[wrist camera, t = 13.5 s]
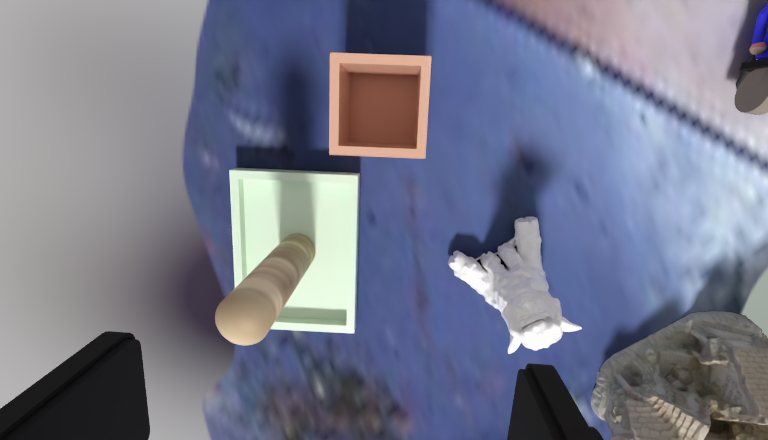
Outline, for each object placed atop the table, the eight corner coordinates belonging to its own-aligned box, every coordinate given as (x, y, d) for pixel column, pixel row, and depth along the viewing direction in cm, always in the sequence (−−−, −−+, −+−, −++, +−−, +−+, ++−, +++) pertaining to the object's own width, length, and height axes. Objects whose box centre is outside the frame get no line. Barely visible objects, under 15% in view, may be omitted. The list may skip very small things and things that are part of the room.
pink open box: (344, 66, 38) (330, 52, 31) (425, 69, 38) (431, 56, 30) (342, 148, 40) (329, 154, 32) (420, 151, 40) (425, 158, 32)
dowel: (279, 232, 41) (213, 292, 27) (315, 234, 41) (269, 295, 27) (280, 267, 42) (216, 343, 28) (315, 268, 42) (270, 346, 27)
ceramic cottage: (785, 327, 42) (967, 438, 28) (706, 452, 47) (828, 604, 32) (635, 280, 43) (739, 365, 28) (571, 408, 47) (632, 538, 33)
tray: (237, 167, 41) (229, 169, 39) (360, 173, 40) (357, 175, 39) (243, 318, 44) (236, 327, 43) (356, 324, 44) (354, 333, 42)
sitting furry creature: (530, 209, 41) (582, 244, 29) (567, 281, 42) (631, 342, 31) (444, 254, 42) (460, 305, 30) (483, 323, 44) (513, 396, 32)
